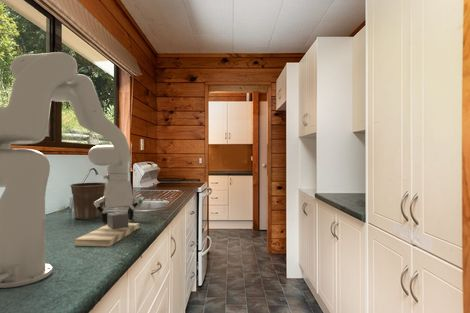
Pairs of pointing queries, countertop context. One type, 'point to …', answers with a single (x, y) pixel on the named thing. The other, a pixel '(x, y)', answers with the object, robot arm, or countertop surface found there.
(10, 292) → the countertop surface
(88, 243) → the light wood flat block
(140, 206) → the mechanical component
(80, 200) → the plant pot
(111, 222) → the grey and orange block
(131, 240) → the countertop surface
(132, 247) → the countertop surface
